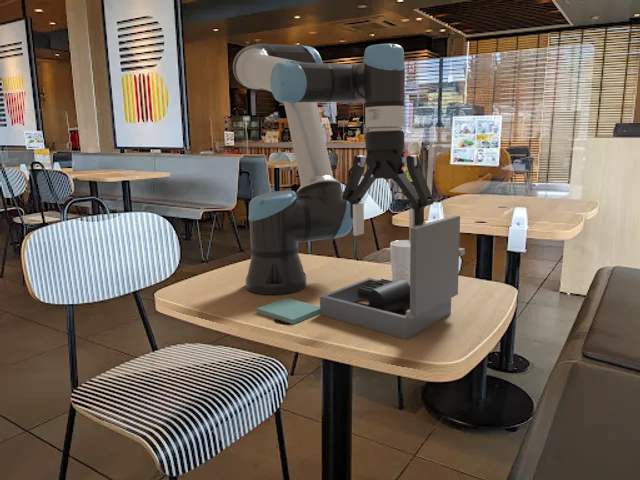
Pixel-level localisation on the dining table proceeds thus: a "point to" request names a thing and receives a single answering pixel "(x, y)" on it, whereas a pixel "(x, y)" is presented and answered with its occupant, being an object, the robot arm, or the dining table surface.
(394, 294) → the end cap
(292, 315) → the rubber pad
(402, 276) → the white cup
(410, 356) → the dining table surface
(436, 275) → the case
